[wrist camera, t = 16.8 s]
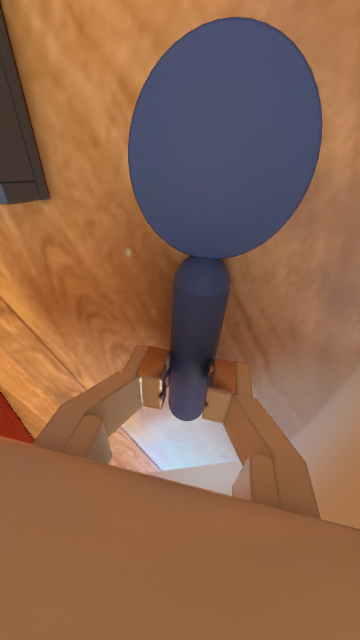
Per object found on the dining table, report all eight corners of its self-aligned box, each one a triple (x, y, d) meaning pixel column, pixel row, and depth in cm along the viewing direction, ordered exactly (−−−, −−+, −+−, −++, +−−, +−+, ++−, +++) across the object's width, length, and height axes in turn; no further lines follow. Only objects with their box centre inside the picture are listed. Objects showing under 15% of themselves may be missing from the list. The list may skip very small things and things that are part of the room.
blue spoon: (228, 404, 13) (227, 438, 11) (150, 388, 13) (139, 418, 12) (342, 45, 5) (401, -25, 3) (138, 46, 5) (97, -10, 4)
